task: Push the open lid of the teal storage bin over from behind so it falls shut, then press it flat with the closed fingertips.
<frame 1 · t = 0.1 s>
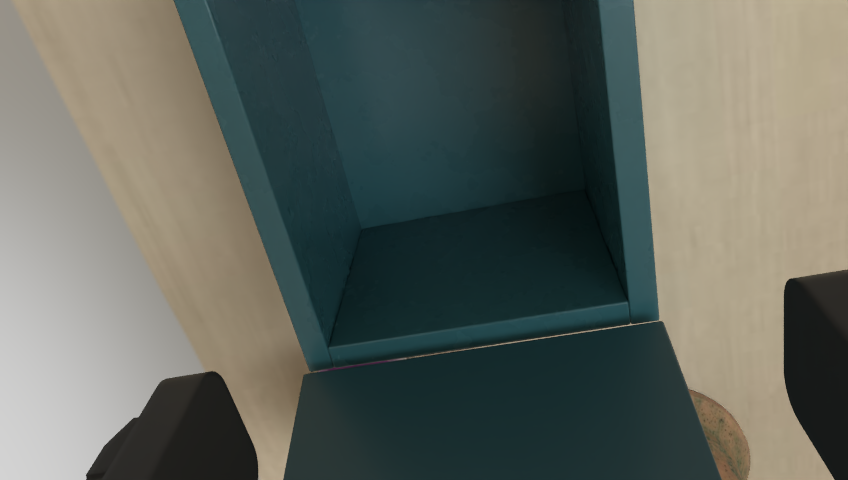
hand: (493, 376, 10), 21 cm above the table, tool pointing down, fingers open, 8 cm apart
teal storage bin: (441, 59, 29), on the table
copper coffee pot: (602, 434, 38), on the table
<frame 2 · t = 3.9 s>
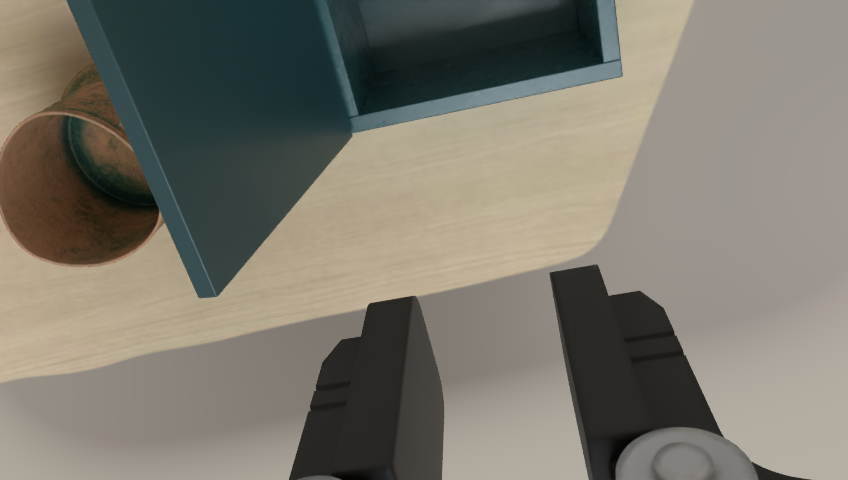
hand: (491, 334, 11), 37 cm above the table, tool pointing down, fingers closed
lid: (247, 71, 29), point 18 cm above the table, hinge at 100.0°
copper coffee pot: (167, 107, 48), on the table
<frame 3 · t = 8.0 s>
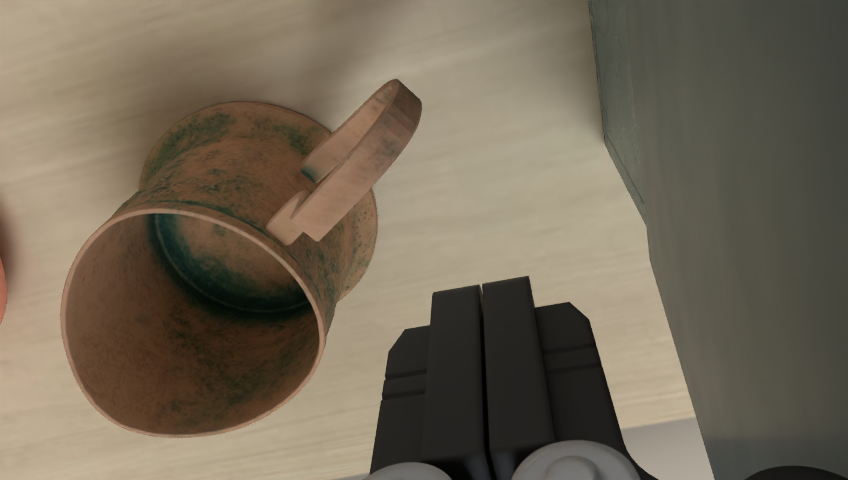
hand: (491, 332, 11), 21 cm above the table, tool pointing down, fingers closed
lid: (707, 197, 13), point 18 cm above the table, hinge at 94.7°, touching gripper, hand
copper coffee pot: (298, 174, 33), on the table
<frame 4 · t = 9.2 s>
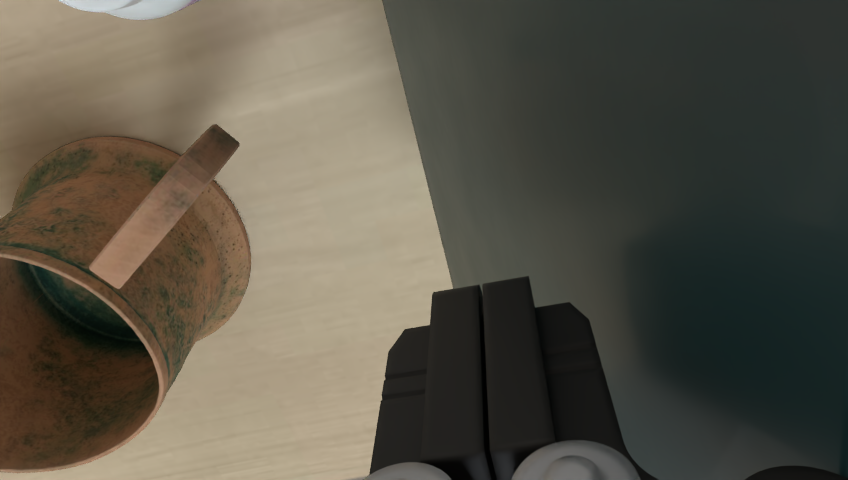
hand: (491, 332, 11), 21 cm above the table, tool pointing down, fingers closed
lid: (537, 234, 13), point 18 cm above the table, hinge at 71.9°
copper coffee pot: (169, 206, 34), on the table
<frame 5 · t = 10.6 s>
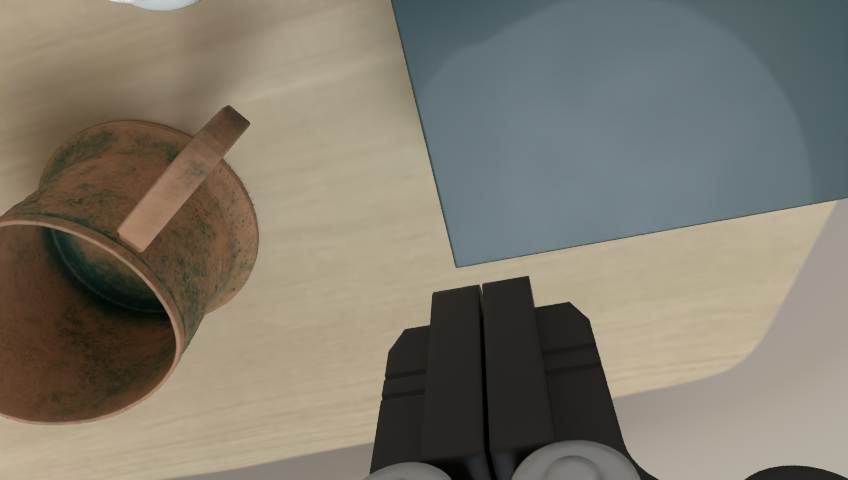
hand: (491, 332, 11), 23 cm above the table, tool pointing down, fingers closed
lid: (661, 58, 22), point 10 cm above the table, hinge at -0.2°
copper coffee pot: (183, 186, 36), on the table
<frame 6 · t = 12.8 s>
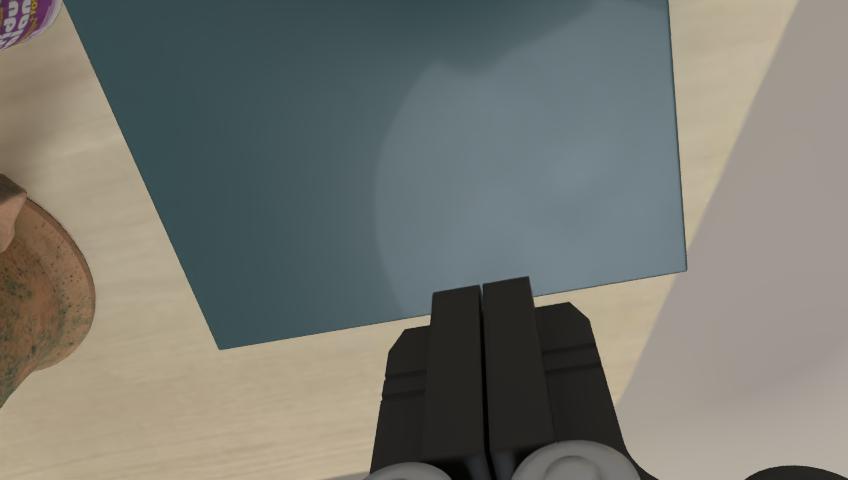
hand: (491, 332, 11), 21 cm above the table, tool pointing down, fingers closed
lid: (398, 140, 20), point 10 cm above the table, hinge at -0.2°
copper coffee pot: (12, 239, 35), on the table
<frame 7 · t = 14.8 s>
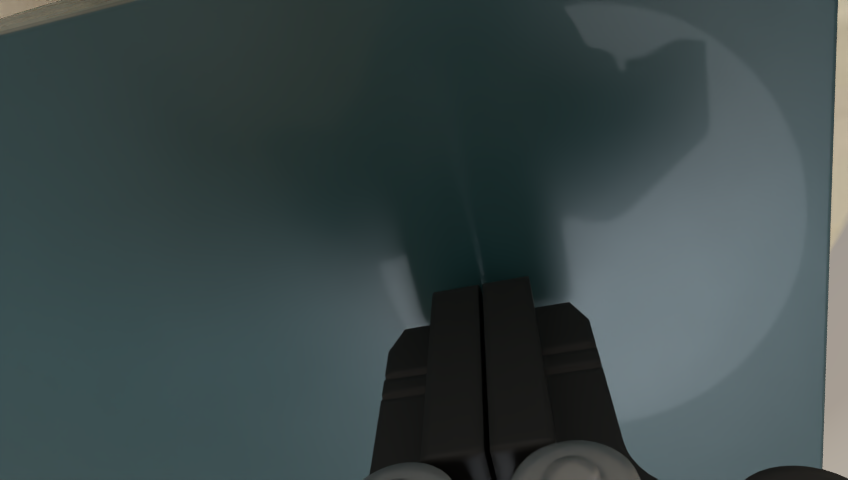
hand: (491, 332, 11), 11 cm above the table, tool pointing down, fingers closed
lid: (343, 329, 12), point 10 cm above the table, hinge at -0.2°
teal storage bin: (383, 136, 21), on the table
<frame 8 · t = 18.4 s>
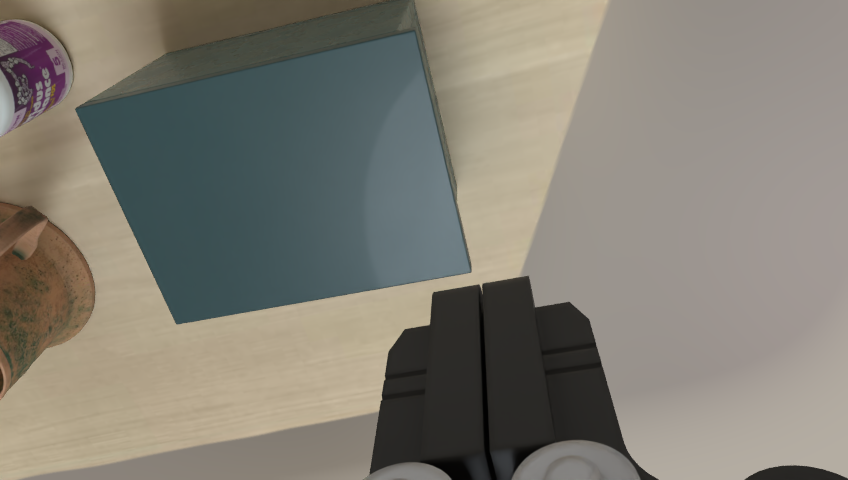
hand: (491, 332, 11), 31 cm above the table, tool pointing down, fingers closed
lid: (283, 191, 33), point 10 cm above the table, hinge at -0.2°
pill bottle: (33, 62, 41), on the table
teal storage bin: (316, 123, 42), on the table
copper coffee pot: (33, 248, 47), on the table
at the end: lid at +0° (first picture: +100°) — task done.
